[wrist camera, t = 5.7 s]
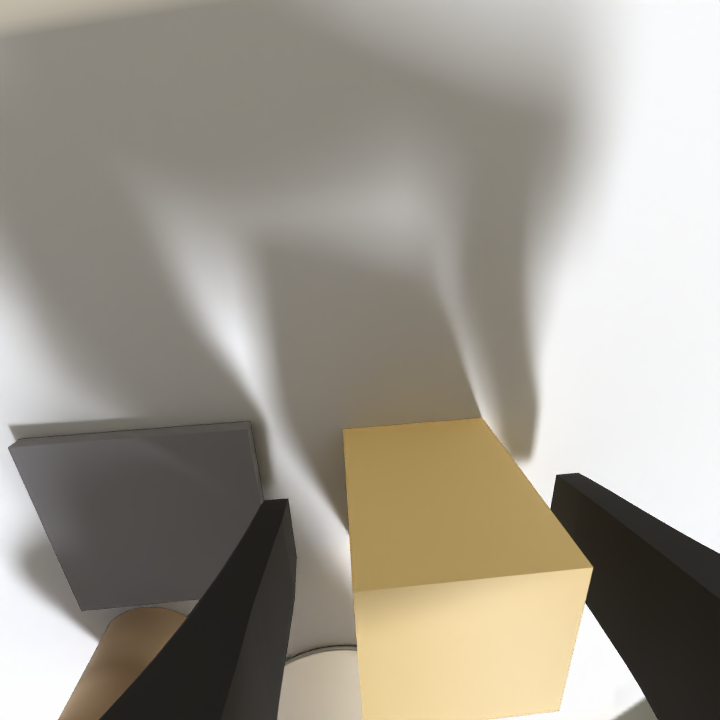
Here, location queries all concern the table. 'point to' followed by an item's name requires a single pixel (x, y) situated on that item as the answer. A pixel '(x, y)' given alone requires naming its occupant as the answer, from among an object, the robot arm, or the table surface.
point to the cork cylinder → (120, 659)
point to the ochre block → (456, 576)
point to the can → (322, 686)
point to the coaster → (143, 508)
